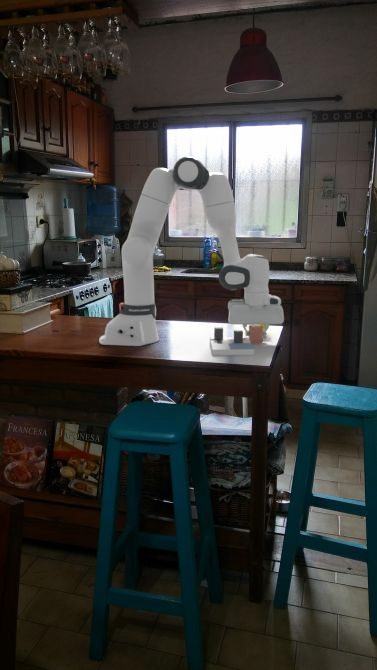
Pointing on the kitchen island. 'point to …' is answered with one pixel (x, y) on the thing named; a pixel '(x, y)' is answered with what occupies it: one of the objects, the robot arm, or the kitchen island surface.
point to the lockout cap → (255, 333)
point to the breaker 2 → (238, 336)
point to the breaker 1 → (218, 333)
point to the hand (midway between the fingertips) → (255, 335)
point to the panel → (231, 347)
